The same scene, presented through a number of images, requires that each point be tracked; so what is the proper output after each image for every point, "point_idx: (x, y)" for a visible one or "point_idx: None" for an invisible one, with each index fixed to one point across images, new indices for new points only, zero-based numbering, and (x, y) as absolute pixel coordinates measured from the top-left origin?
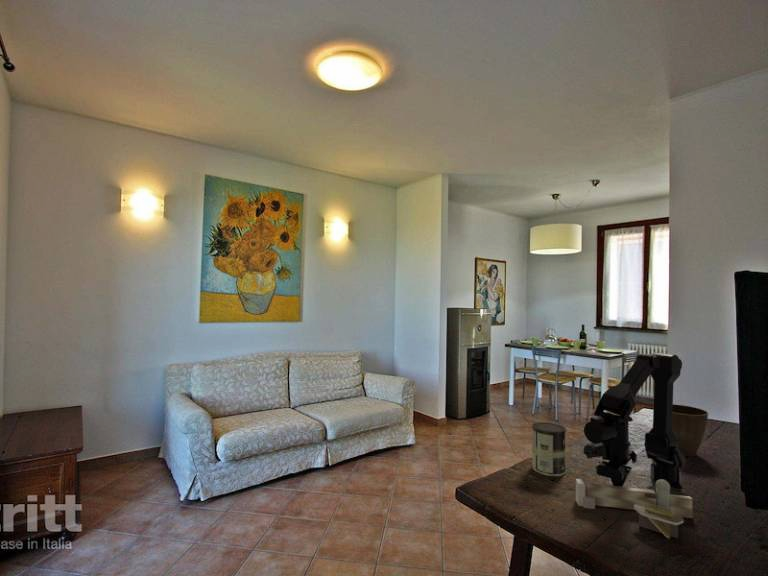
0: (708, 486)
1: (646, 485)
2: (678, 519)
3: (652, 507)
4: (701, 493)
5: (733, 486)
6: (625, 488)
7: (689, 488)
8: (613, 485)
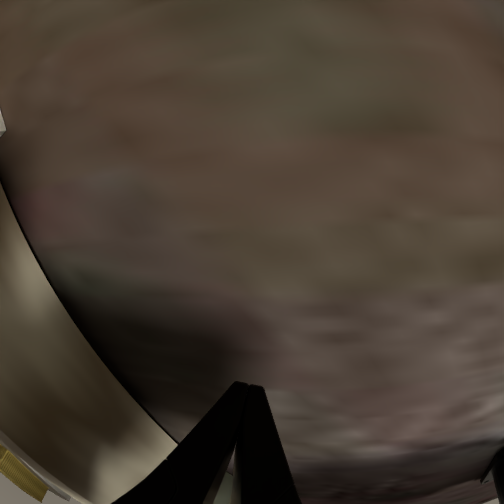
0: (490, 490)
1: (498, 430)
2: (49, 489)
3: (14, 471)
4: (448, 500)
5: (490, 500)
6: (53, 480)
7: (478, 484)
8: (193, 431)
